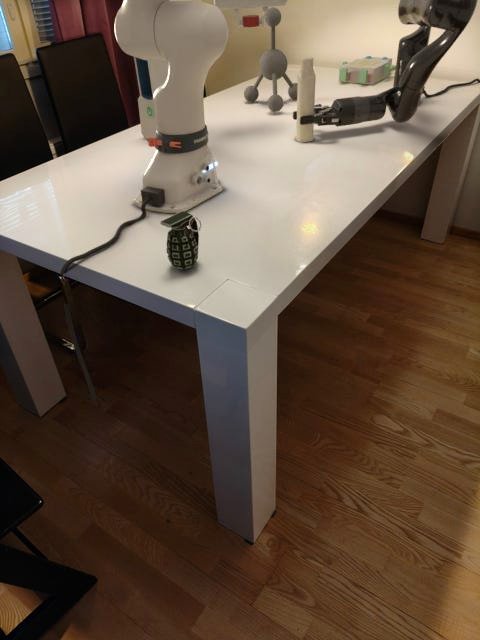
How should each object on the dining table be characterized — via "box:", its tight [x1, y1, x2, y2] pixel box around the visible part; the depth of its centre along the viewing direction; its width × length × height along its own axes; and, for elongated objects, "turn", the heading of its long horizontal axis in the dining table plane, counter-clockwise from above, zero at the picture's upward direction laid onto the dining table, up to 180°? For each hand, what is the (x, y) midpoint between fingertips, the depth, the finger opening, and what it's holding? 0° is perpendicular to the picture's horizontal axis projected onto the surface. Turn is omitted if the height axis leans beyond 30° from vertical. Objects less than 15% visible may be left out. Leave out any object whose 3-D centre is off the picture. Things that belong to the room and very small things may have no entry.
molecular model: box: [243, 6, 298, 113], centre depth 169 cm, size 24×22×30 cm
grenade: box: [159, 211, 202, 271], centre depth 88 cm, size 7×6×10 cm
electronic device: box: [133, 57, 169, 140], centre depth 143 cm, size 12×8×30 cm, turn 47°
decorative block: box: [338, 55, 396, 85], centre depth 201 cm, size 26×6×20 cm
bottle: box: [295, 56, 317, 143], centre depth 139 cm, size 5×5×22 cm
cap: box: [241, 14, 260, 28], centre depth 136 cm, size 5×5×2 cm
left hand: (251, 26), depth 137 cm, fingers closed on cap, 4 cm apart
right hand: (297, 118), depth 141 cm, fingers closed on bottle, 5 cm apart
